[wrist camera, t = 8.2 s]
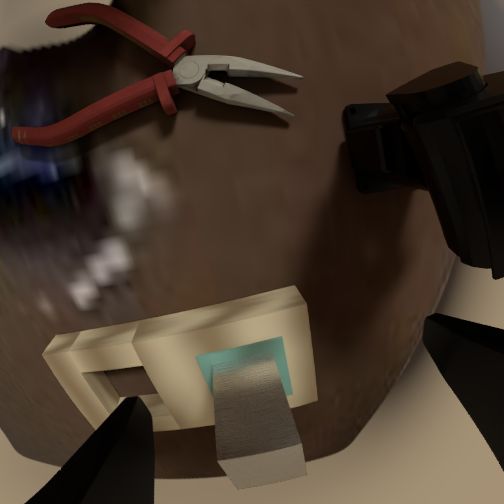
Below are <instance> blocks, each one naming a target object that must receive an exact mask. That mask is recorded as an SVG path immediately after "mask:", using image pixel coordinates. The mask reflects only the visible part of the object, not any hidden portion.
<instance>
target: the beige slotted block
mask: <svg viewBox="0 0 504 504" xmlns="http://www.w3.org/2000/svg"><path fill="white" fill-rule="evenodd" d="M270 351H272V353H273V356H274V359H275V363H276V366H277V369H278V372H279V375H280V378H281V381H282V385H283V388H284V391H285V394H286V397H287V400H288V403H289V406H290V408H294V407H298V406H301V405H305V404H308V403H311V402H314V401H318V399H317V388H316V378H315V368H314V359H313V350H312V341H311V333H310V325H309V317H308V310H307V303H306V302H305V300H304V299H303V297H302V295H301V294H300V292H299V291H298V289H297V288H296V286H295V285H293V286H289V287H285V288H281V289H277V290H273V291H269V292H265V293H261V294H257V295H253V296H249V297H245V298H241V299H237V300H232V301H228V302H224V303H220V304H215V305H211V306H206V307H202V308H197V309H193V310H188V311H184V312H179V313H174V314H170V315H165V316H160V317H155V318H150V319H145V320H140V321H135V322H130V323H124V324H119V325H114V326H108V327H103V328H97V329H91V330H85V331H80V332H74V333H67V334H61V335H56V336H55V337H54V339H53V340H52V341H51V343H50V344H49V345H48V347H47V348H46V350H45V351H44V352H43V354H42V355H43V357H44V359H45V360H46V362H47V364H48V365H49V367H50V368H51V370H52V372H53V373H54V375H55V376H56V378H57V379H58V381H59V382H60V384H61V385H62V387H63V388H64V389H65V391H66V392H67V394H68V395H69V396H70V398H71V399H72V401H73V402H74V403H75V405H76V406H77V407H78V408H79V410H80V411H81V412H82V414H83V415H84V416H85V417H86V419H87V420H88V421H89V422H90V423H91V425H92V426H93V427H94V428H95V429H97V428H98V427H99V426H100V425H101V424H102V423H103V422H104V421H105V420H106V418H107V417H108V416H109V415H110V414H111V413H112V412H113V411H114V410H115V409H116V407H117V406H118V405H119V404H120V403H121V402H122V401H123V400H124V399H125V398H126V397H120V396H119V395H118V393H117V392H116V390H115V389H114V387H113V386H112V384H111V383H110V381H109V379H108V378H107V376H106V375H105V373H104V371H103V370H112V369H121V368H129V367H136V366H143V367H144V368H145V370H146V372H147V374H148V376H149V378H150V379H151V381H152V383H153V385H154V386H155V388H156V390H157V392H158V394H150V395H140V396H139V397H140V398H141V399H142V400H143V402H144V403H145V405H146V406H147V408H148V409H149V411H150V412H151V415H152V419H153V432H155V431H168V430H178V429H187V428H195V427H203V426H209V425H215V416H214V394H213V364H218V363H223V362H227V361H232V360H236V359H241V358H245V357H250V356H254V355H258V354H262V353H266V352H270Z"/></svg>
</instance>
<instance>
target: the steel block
mask: <svg viewBox="0 0 504 504" xmlns="http://www.w3.org/2000/svg"><path fill="white" fill-rule="evenodd" d="M213 394H214V416H215V435H216V451H217V461H218V463H219V464H220V466H221V467H222V469H223V470H224V471H225V473H226V474H227V476H228V477H229V478H230V480H231V481H232V482H233V484H234V485H235V486H236V488H237V489H244V488H250V487H255V486H261V485H266V484H271V483H276V482H281V481H285V480H289V479H293V478H297V477H301V476H305V475H307V472H306V466H305V460H304V454H303V448H302V443H301V440H300V437H299V434H298V431H297V428H296V425H295V422H294V419H293V416H292V412H291V409H290V406H289V403H288V400H287V397H286V394H285V391H284V388H283V385H282V381H281V378H280V375H279V372H278V369H277V366H276V363H275V359H274V356H273V353H272V351H270V352H266V353H262V354H258V355H254V356H250V357H245V358H241V359H236V360H232V361H227V362H223V363H218V364H213Z"/></svg>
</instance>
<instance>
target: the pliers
mask: <svg viewBox="0 0 504 504" xmlns="http://www.w3.org/2000/svg"><path fill="white" fill-rule="evenodd" d="M45 23H46V24H47V25H48V26H50V27H52V28H57V29H62V28H69V27H75V26H81V25H89V24H91V25H95V24H96V23H98V24H101V25H104V26H107V27H109V28H111V29H112V30H114V31H116V32H117V33H119V34H120V35H122V36H124V37H125V38H127V39H129V40H130V41H132V42H133V43H135V44H136V45H138V46H139V47H141V48H143V49H144V50H146V51H147V52H149V53H150V54H152V55H153V56H154V57H156V58H157V59H159V60H160V61H162V62H163V63H165V64H166V65H168V66H169V67H171V68H172V69H173V72H172V70H168V71H165V72H160V73H158V74H155V75H153V76H152V77H149V78H147V79H144V80H142V81H140V82H137V83H135V84H133V85H130V86H128V87H126V88H124V89H121V90H119V91H117V92H115V93H113V94H111V95H109V96H107V97H105V98H103V99H101V100H99V101H97V102H95V103H93V104H91V105H89V106H88V107H86V108H84V109H82V110H80V111H78V112H77V113H75V114H73V115H72V116H70V117H68V118H66V119H64V120H62V121H60V122H57V123H55V124H52V125H49V126H45V127H13V128H12V137H13V139H14V140H15V141H16V142H18V143H20V144H26V145H37V146H47V147H53V146H59V145H62V144H65V143H68V142H71V141H73V140H76V139H78V138H80V137H82V136H84V135H86V134H88V133H90V132H92V131H94V130H96V129H98V128H100V127H102V126H104V125H106V124H108V123H110V122H112V121H114V120H116V119H118V118H120V117H122V116H124V115H127V114H129V113H131V112H133V111H136V110H138V109H140V108H143V107H145V106H148V105H150V104H152V103H155V102H157V101H160V102H161V105H162V107H163V110H164V111H165V113H166V114H167V115H171V114H174V113H176V112H177V109H176V106H175V102H174V99H173V96H174V95H177V94H180V91H179V87H180V88H182V89H185V90H188V91H191V92H194V93H197V94H200V95H203V96H206V97H209V98H212V99H214V100H217V101H220V102H223V103H227V104H231V105H237V106H243V107H248V108H254V109H259V110H264V111H268V112H273V113H277V114H282V115H286V116H290V117H293V116H294V114H292V113H290V112H288V111H286V110H284V109H282V108H281V107H279V106H277V105H275V104H273V103H271V102H269V101H267V100H265V99H263V98H261V97H259V96H257V95H254V94H252V93H250V92H248V91H246V90H244V89H241V88H239V87H236V86H234V85H231V84H229V83H222V82H219V81H217V80H214V79H211V78H208V77H206V73H207V76H208V74H209V72H210V71H211V70H225V71H226V72H227V74H228V76H232V77H272V78H290V79H302V78H303V77H302V76H300V75H297V74H294V73H291V72H288V71H285V70H282V69H279V68H276V67H272V66H269V65H266V64H262V63H259V62H255V61H251V60H248V59H244V58H240V57H233V56H218V55H200V56H189V55H188V52H187V51H188V50H190V49H191V48H192V47H193V46H194V45H195V44H196V41H195V35H194V34H193V33H191V32H190V31H188V30H183V31H181V32H180V33H179V34H178V35H177V36H176V37H174V38H173V39H172V40H169V39H168V38H166V37H164V36H163V35H161V34H160V33H158V32H156V31H155V30H153V29H152V28H150V27H148V26H147V25H145V24H143V23H142V22H140V21H138V20H136V19H135V18H133V17H131V16H129V15H128V14H126V13H124V12H122V11H120V10H118V9H116V8H114V7H111V6H108V5H104V4H100V3H84V4H79V5H74V6H69V7H65V8H61V9H57V10H55V11H53V12H51V13H50V14H49V15H48V17H47V19H46V21H45Z"/></svg>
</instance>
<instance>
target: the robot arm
mask: <svg viewBox="0 0 504 504" xmlns="http://www.w3.org/2000/svg"><path fill="white" fill-rule="evenodd" d="M386 97H387V98H388V100H389V102H390V103H371V104H351V105H348V106H346V107H345V109H344V113H345V118H346V123H347V128H348V132H347V140H348V145H349V151H350V157H351V163H352V167H353V168H354V169H355V176H356V183H357V189H358V191H359V192H361V193H363V194H368V193H373V192H378V191H384V190H389V189H395V188H400V187H411V188H416V189H420V190H425V191H429V193H430V196H431V199H432V201H433V204H434V207H435V210H436V213H437V216H438V219H439V222H440V225H441V228H442V231H443V235H444V238H445V240H446V243H447V245H448V247H449V248H450V249H451V250H452V251H453V252H454V253H455V254H456V255H457V256H459V257H460V260H461V262H462V263H464V264H467V265H469V266H472V267H479V268H487V269H488V268H489V269H490V268H491V269H492V277H493V279H495V280H497V279H500V278H503V277H504V71H502V72H497V73H492V74H488V75H484V76H482V74H481V72H480V70H479V68H478V67H476V66H473V65H470V64H466V63H463V62H455V63H451V64H448V65H445V66H442V67H439V68H436V69H433V70H431V71H429V72H427V73H425V74H423V75H421V76H419V77H417V78H415V79H413V80H411V81H409V82H408V83H406V84H404V85H402V86H400V87H398V88H397V89H395V90H393V91H391V92H389V93H388V94H386ZM350 109H352V110H353V114H351V113H350ZM363 184H365V185H366V188H365V189H364V190H363ZM422 340H423V343H424V345H425V347H426V349H427V350H428V352H429V354H430V355H431V357H432V359H433V360H434V362H435V364H436V366H437V368H438V369H439V371H440V373H441V374H442V376H443V378H444V379H445V381H446V382H447V384H448V385H449V386H450V388H451V389H452V391H453V392H454V393H455V395H456V396H457V398H458V399H459V400H460V402H461V403H462V405H463V406H464V408H465V409H466V411H467V412H468V414H469V415H470V417H471V418H472V420H473V421H474V423H475V424H476V426H477V428H478V429H479V431H480V432H481V434H482V435H483V437H484V438H485V440H486V442H487V443H488V445H489V447H490V448H491V450H492V452H493V453H494V455H495V457H496V459H497V460H498V462H499V464H500V466H501V468H502V469H503V471H504V330H503V329H500V328H495V327H491V326H487V325H483V324H479V323H475V322H471V321H467V320H463V319H459V318H455V317H451V316H447V315H443V314H439V313H434V314H432V315H430V316H427V317H426V318H425V321H424V328H423V335H422ZM154 477H155V452H154V437H153V419H152V415H151V412H150V411H149V409H148V408H147V406H146V405H145V403H144V402H143V400H142V399H141V398H140V397H139V396H129V397H126V398H125V399H124V400H123V401H122V402H121V403H120V404H119V405H118V406H117V407H116V409H115V410H114V411H113V412H112V413H111V414H110V415H109V416H108V417H107V418H106V420H105V421H104V422H103V423H102V424H101V425H100V426H99V427H98V428H97V429H96V431H95V432H94V433H93V434H92V435H91V436H90V437H89V438H88V439H87V440H86V442H85V443H84V444H83V445H82V446H81V447H80V448H79V449H78V450H77V451H76V452H75V454H74V455H73V456H72V457H71V458H70V459H69V460H68V461H67V462H66V463H65V464H64V466H63V467H62V468H61V470H59V471H58V472H57V473H56V474H55V475H54V476H53V477H52V478H51V480H50V481H49V482H48V483H47V484H46V485H45V486H44V487H43V488H41V489H40V490H39V491H38V492H37V493H36V494H35V495H34V496H33V497H32V498H30V499H29V500H28V501H27V502H26V503H25V504H154Z"/></svg>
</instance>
